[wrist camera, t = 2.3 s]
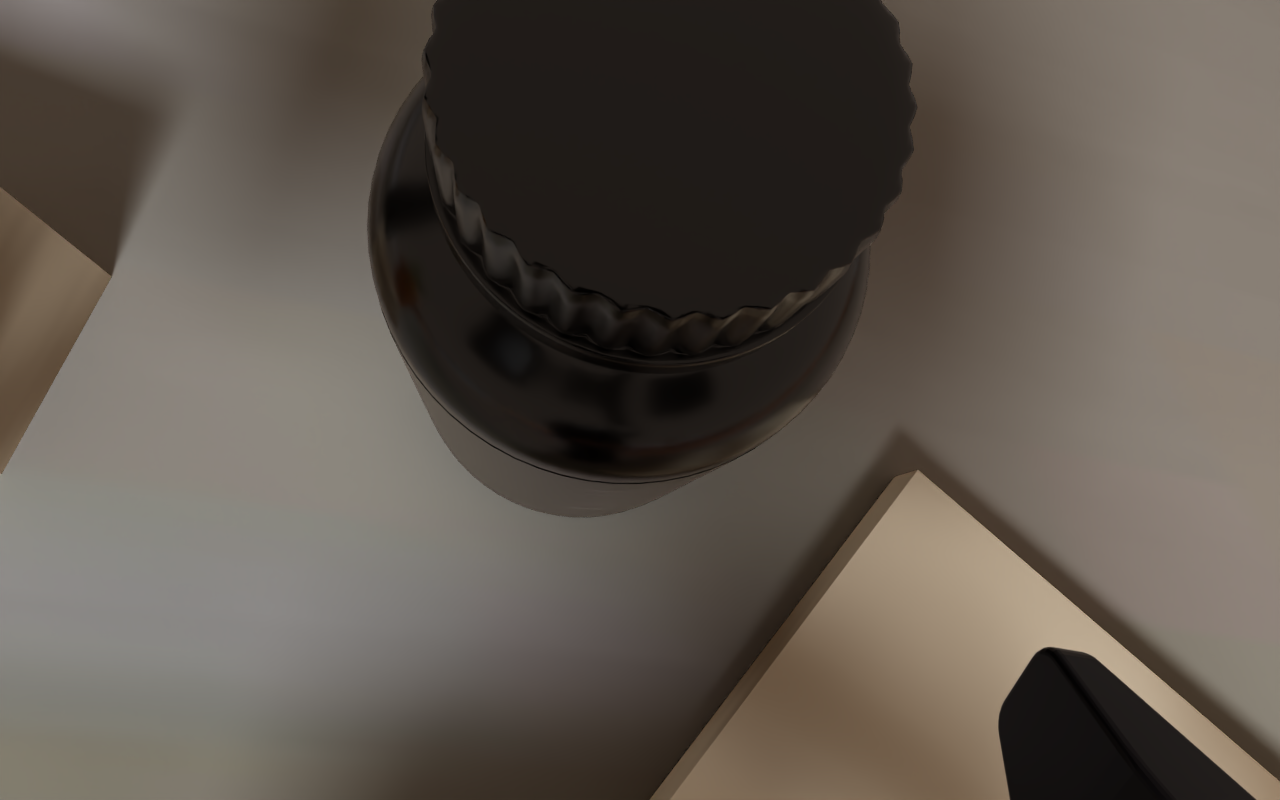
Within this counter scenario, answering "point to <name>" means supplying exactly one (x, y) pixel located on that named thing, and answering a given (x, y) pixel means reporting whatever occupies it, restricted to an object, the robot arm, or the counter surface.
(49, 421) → the counter surface
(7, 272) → the oak block
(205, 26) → the counter surface
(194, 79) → the counter surface
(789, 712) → the maple board
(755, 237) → the supplement bottle
